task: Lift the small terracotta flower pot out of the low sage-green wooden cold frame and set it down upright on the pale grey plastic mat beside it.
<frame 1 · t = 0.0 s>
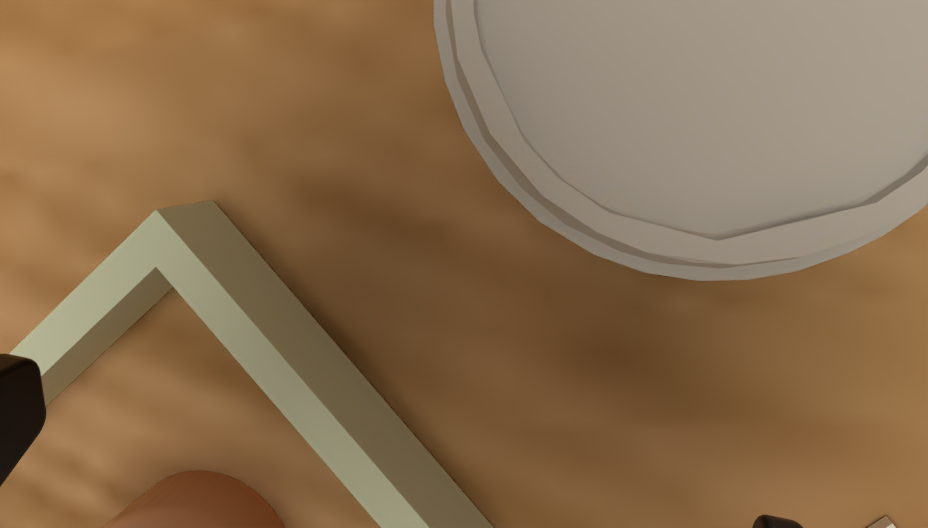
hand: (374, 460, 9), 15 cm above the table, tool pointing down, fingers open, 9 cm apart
disposable coffee cup: (657, 61, 23), on the table
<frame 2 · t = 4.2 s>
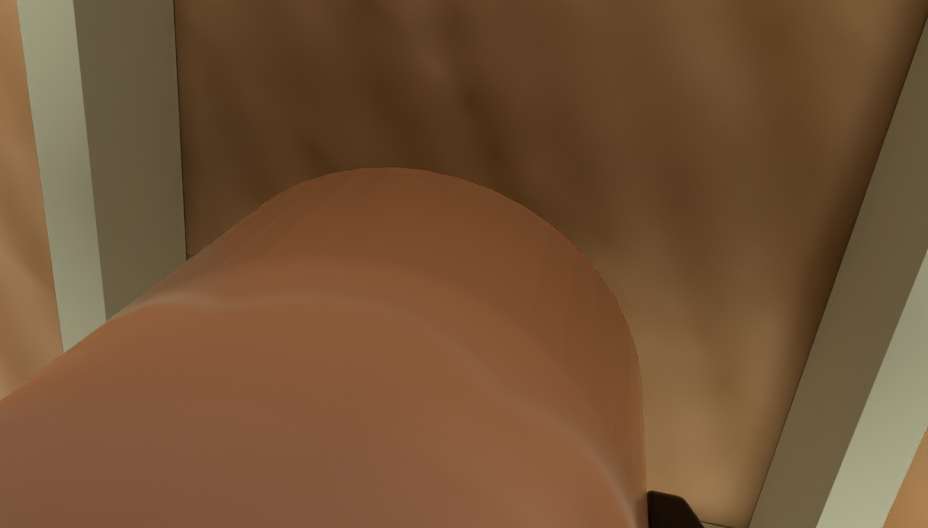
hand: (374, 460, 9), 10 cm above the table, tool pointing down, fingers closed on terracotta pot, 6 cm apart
cold frame: (492, 205, 18), on the table
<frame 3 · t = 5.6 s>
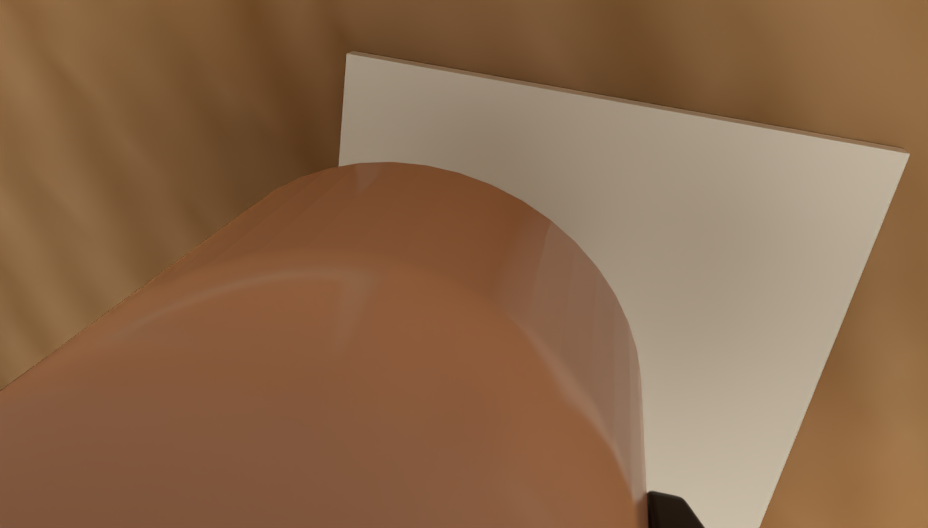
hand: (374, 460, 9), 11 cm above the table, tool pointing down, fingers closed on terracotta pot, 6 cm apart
potting mat: (563, 333, 20), on the table
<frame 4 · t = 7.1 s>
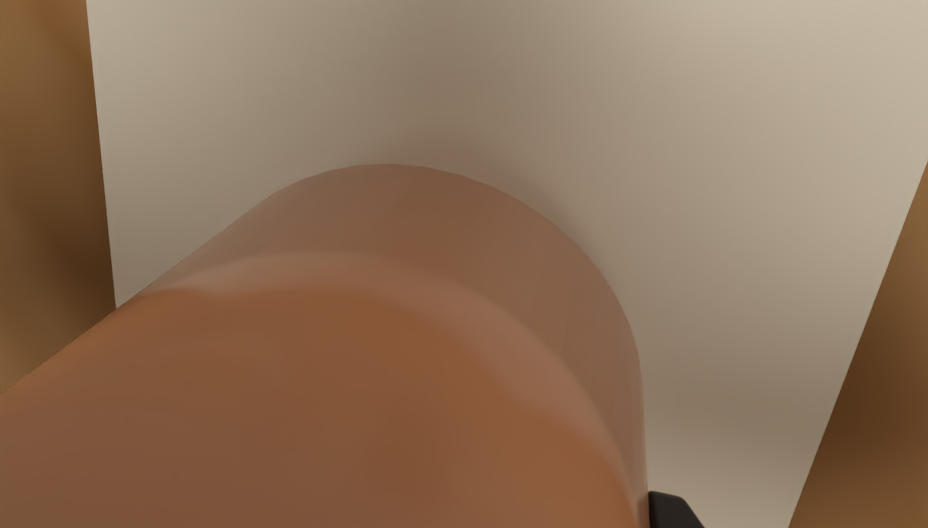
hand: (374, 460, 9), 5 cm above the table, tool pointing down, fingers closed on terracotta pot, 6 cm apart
potting mat: (459, 292, 13), on the table
when the fingers open (3 cm above the table, at t = 8.3 s): terracotta pot drops 1 cm, resting on potting mat.
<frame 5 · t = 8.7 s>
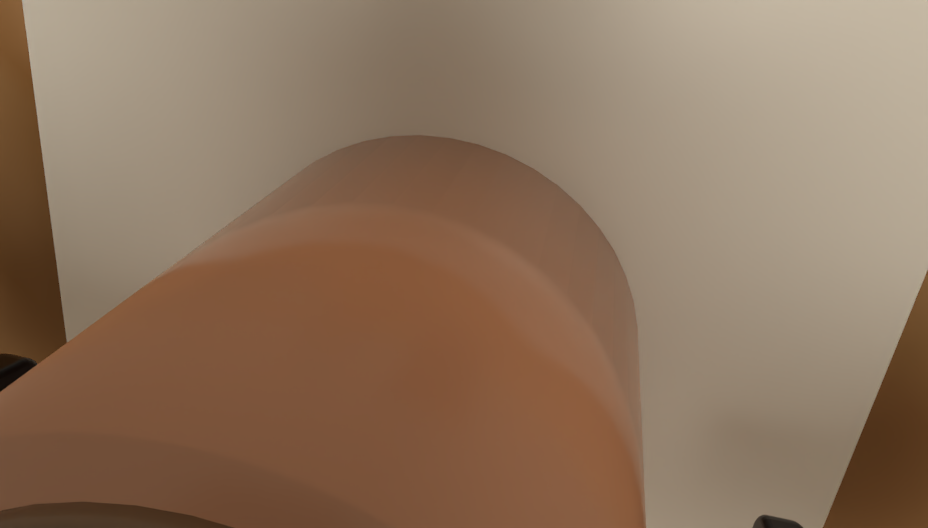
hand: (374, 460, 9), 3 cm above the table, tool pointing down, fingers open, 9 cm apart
potting mat: (439, 326, 12), on the table
terracotta pot: (355, 488, 9), on the potting mat
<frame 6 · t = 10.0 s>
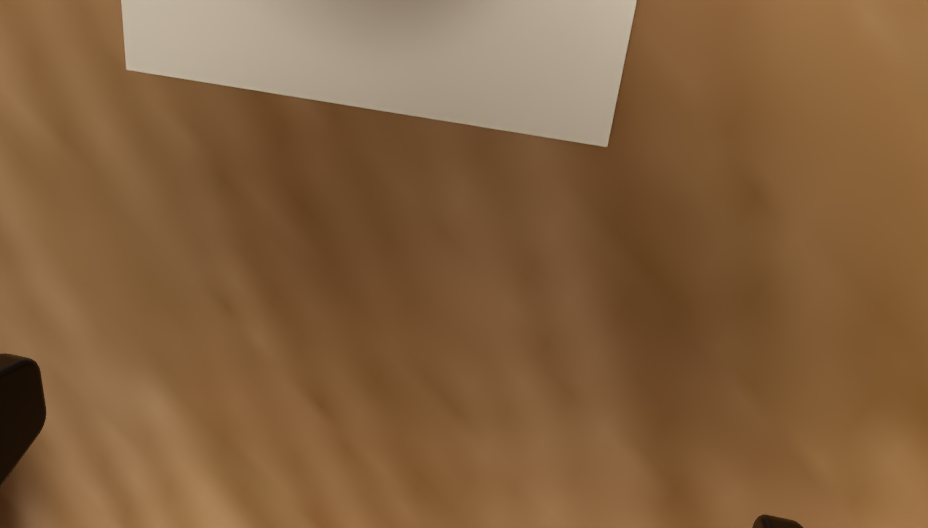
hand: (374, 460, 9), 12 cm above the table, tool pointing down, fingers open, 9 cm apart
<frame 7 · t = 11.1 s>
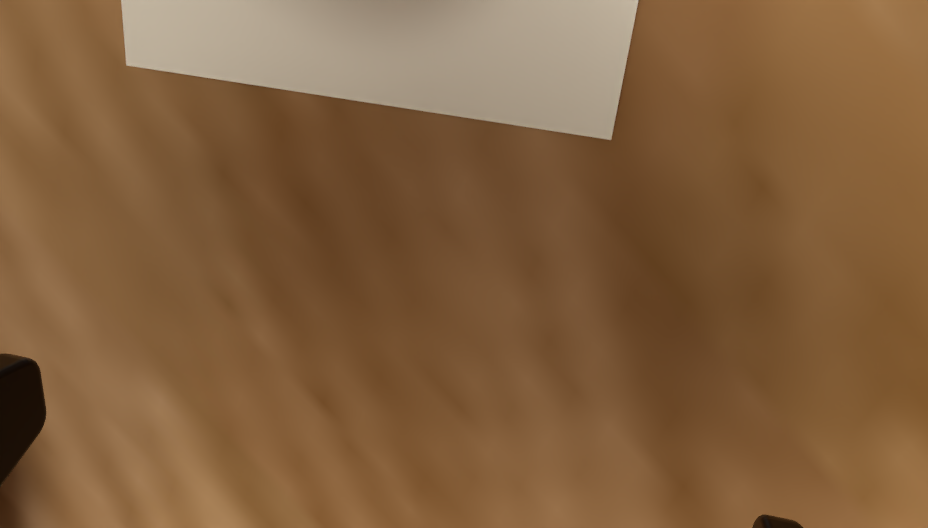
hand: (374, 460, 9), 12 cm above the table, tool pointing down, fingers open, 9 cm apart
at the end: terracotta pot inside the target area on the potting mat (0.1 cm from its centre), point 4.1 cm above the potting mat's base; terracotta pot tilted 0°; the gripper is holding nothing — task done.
